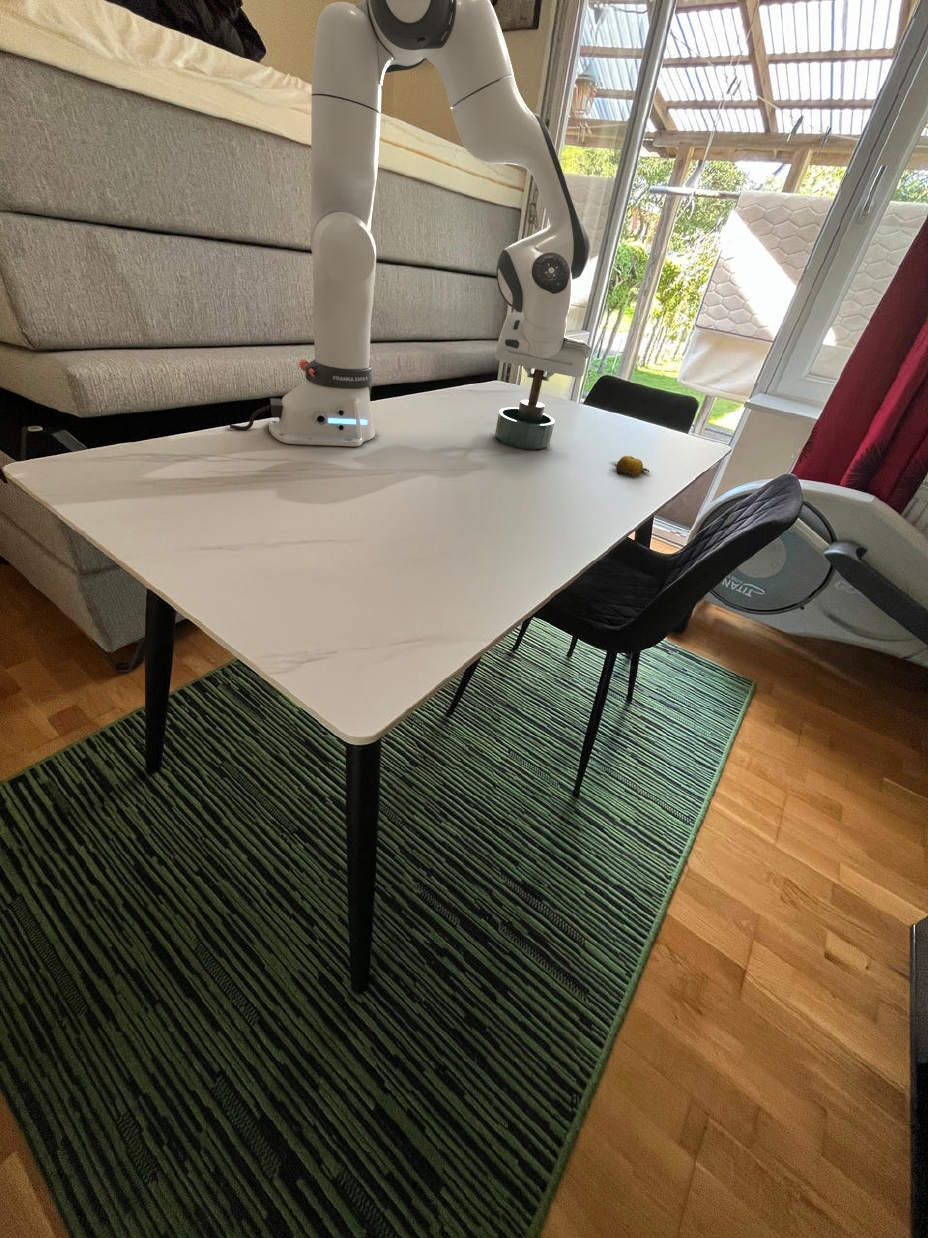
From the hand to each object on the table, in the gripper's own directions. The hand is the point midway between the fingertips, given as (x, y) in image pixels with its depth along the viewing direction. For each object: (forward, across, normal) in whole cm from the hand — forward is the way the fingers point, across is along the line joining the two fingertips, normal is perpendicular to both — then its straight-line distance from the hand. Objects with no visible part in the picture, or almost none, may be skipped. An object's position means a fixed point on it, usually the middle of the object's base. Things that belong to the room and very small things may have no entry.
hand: (538, 376), depth 121 cm
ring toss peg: (+6, 0, +7) cm, 9 cm away
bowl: (+10, +1, +11) cm, 15 cm away
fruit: (+6, -27, +15) cm, 31 cm away
